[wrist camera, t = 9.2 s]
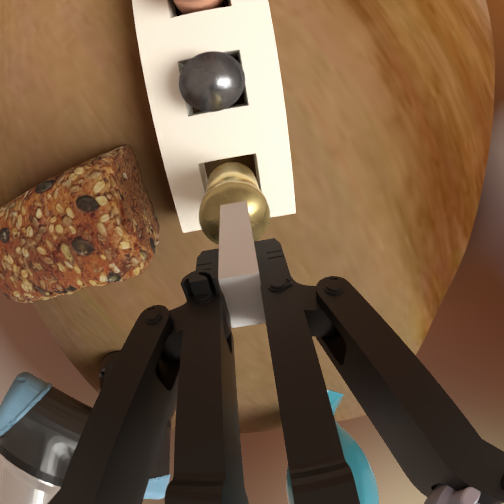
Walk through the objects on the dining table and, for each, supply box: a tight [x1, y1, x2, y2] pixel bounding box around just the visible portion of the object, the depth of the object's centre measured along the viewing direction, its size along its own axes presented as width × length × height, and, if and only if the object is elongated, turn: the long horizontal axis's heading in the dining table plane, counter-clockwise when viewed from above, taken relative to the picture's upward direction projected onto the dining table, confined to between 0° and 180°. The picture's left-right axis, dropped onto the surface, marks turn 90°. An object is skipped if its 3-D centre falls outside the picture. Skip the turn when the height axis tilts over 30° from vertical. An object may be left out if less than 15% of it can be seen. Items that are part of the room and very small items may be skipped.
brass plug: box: [199, 162, 270, 245], centre depth 20 cm, size 4×4×6 cm
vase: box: [286, 390, 379, 504], centre depth 42 cm, size 17×17×30 cm
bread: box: [0, 145, 160, 303], centre depth 22 cm, size 19×11×10 cm, turn 100°
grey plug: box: [179, 51, 245, 112], centre depth 18 cm, size 4×4×6 cm
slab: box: [132, 0, 296, 233], centre depth 19 cm, size 10×24×4 cm, turn 8°
